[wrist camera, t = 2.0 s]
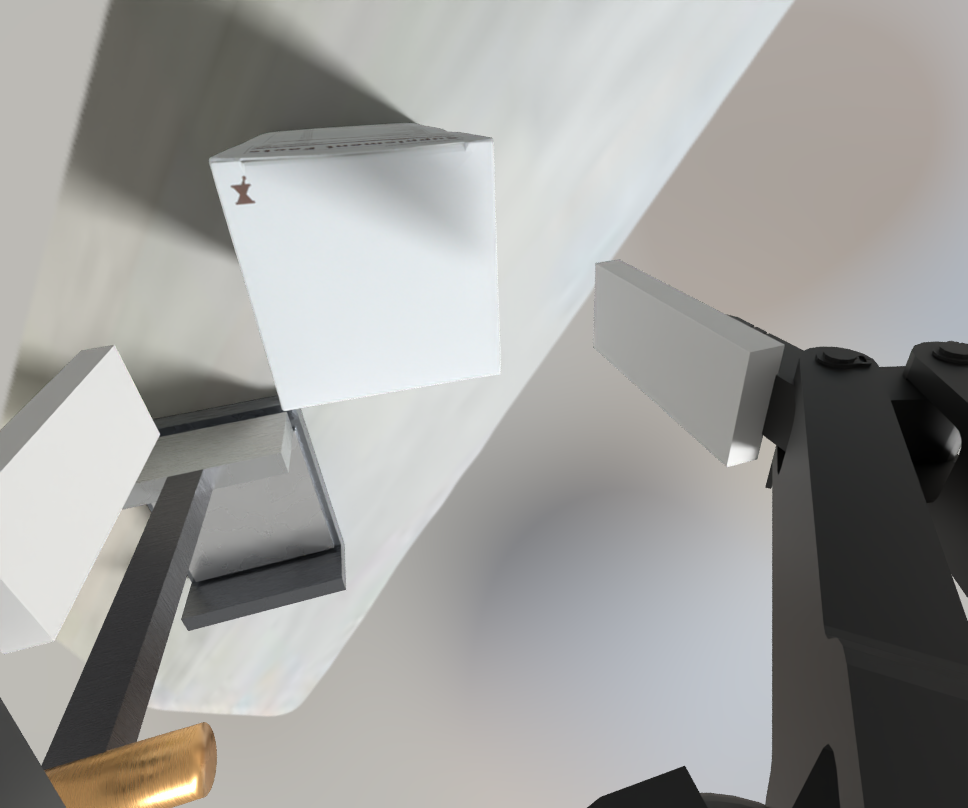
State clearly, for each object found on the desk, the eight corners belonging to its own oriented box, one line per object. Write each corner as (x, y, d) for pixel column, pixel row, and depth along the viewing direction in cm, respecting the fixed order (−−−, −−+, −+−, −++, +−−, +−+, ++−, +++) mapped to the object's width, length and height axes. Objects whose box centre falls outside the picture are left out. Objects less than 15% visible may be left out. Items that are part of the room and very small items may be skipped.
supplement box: (295, 288, 34) (270, 420, 20) (256, 131, 29) (187, 156, 15) (437, 271, 36) (508, 380, 22) (423, 120, 31) (501, 133, 17)
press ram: (285, 408, 35) (233, 764, 16) (294, 434, 36) (255, 794, 17) (112, 442, 33) (-177, 890, 14) (127, 468, 35) (-122, 915, 16)
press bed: (295, 392, 37) (290, 429, 33) (344, 544, 46) (345, 589, 41) (116, 426, 35) (87, 470, 31) (202, 579, 44) (188, 630, 39)
